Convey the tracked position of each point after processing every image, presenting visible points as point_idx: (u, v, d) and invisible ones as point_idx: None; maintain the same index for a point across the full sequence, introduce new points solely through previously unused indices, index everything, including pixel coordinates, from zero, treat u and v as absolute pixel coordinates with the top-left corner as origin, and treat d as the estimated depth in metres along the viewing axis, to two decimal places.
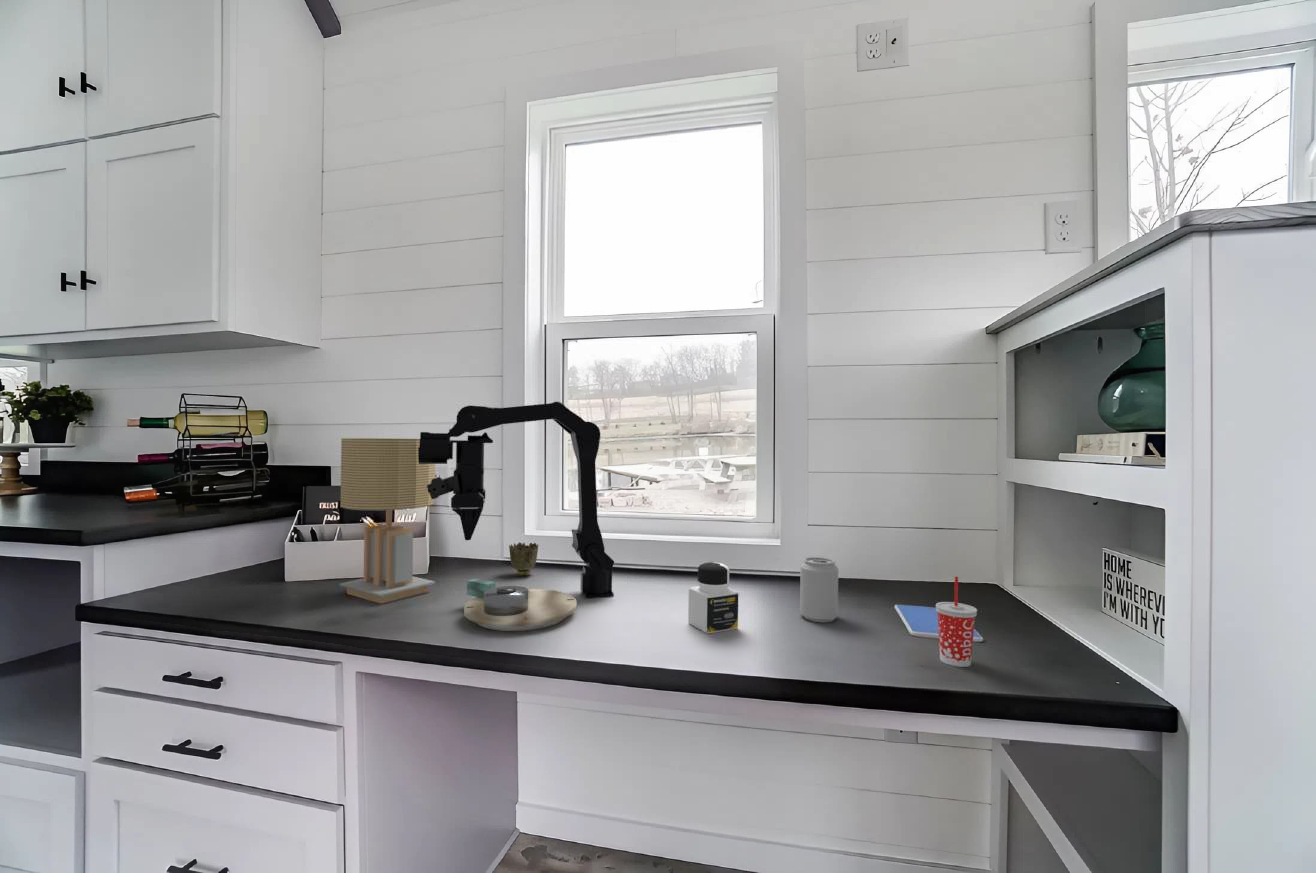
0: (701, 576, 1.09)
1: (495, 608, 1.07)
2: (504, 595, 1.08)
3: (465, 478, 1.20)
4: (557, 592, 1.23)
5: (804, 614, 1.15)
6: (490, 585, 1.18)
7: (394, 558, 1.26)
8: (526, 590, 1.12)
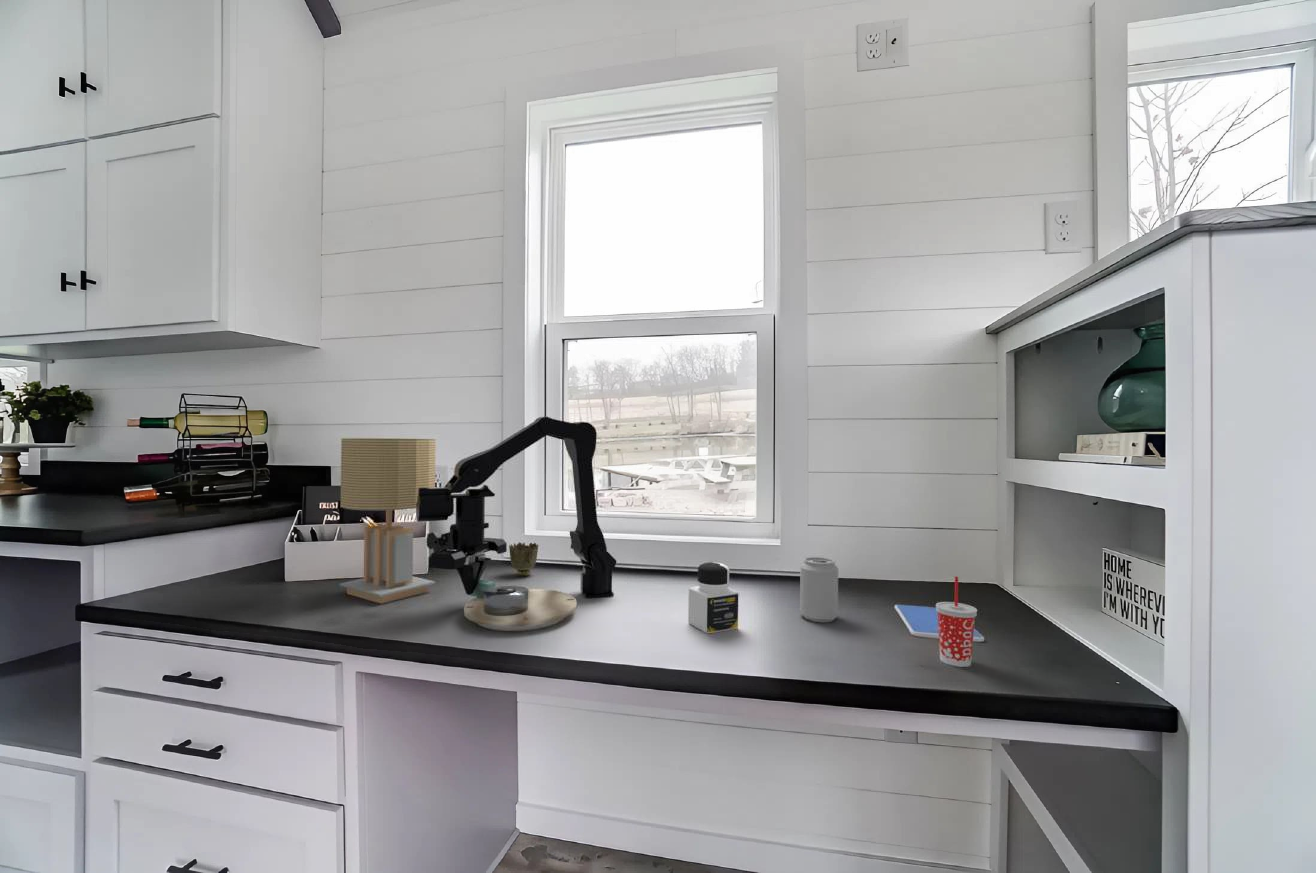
0: (701, 576, 1.09)
1: (495, 608, 1.07)
2: (504, 595, 1.08)
3: (458, 534, 1.16)
4: (557, 592, 1.23)
5: (804, 614, 1.15)
6: (490, 585, 1.18)
7: (394, 558, 1.26)
8: (526, 590, 1.12)
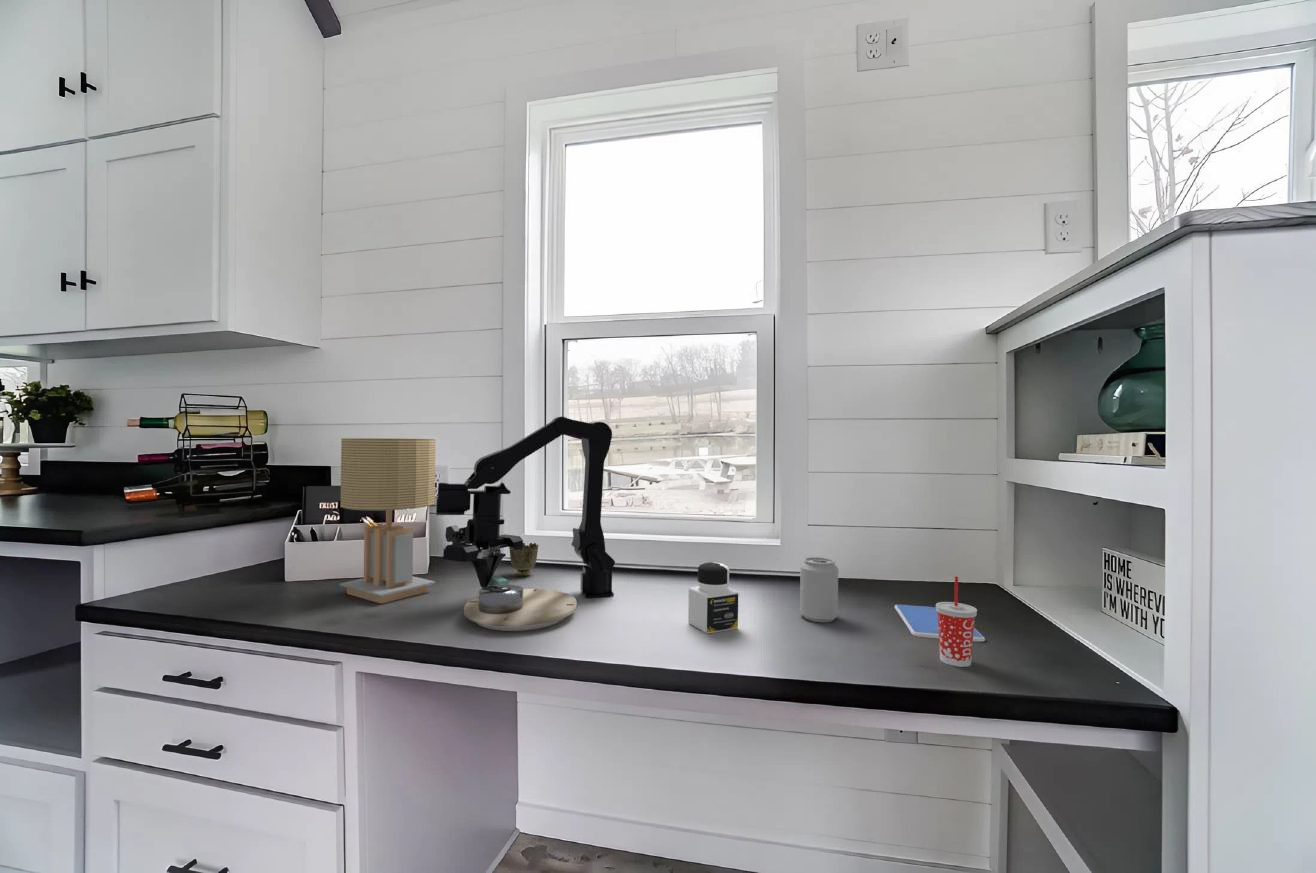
0: (701, 576, 1.09)
1: (483, 605, 1.09)
2: (493, 593, 1.09)
3: (474, 529, 1.20)
4: (567, 596, 1.21)
5: (804, 614, 1.15)
6: (501, 582, 1.21)
7: (394, 558, 1.26)
8: (519, 590, 1.12)
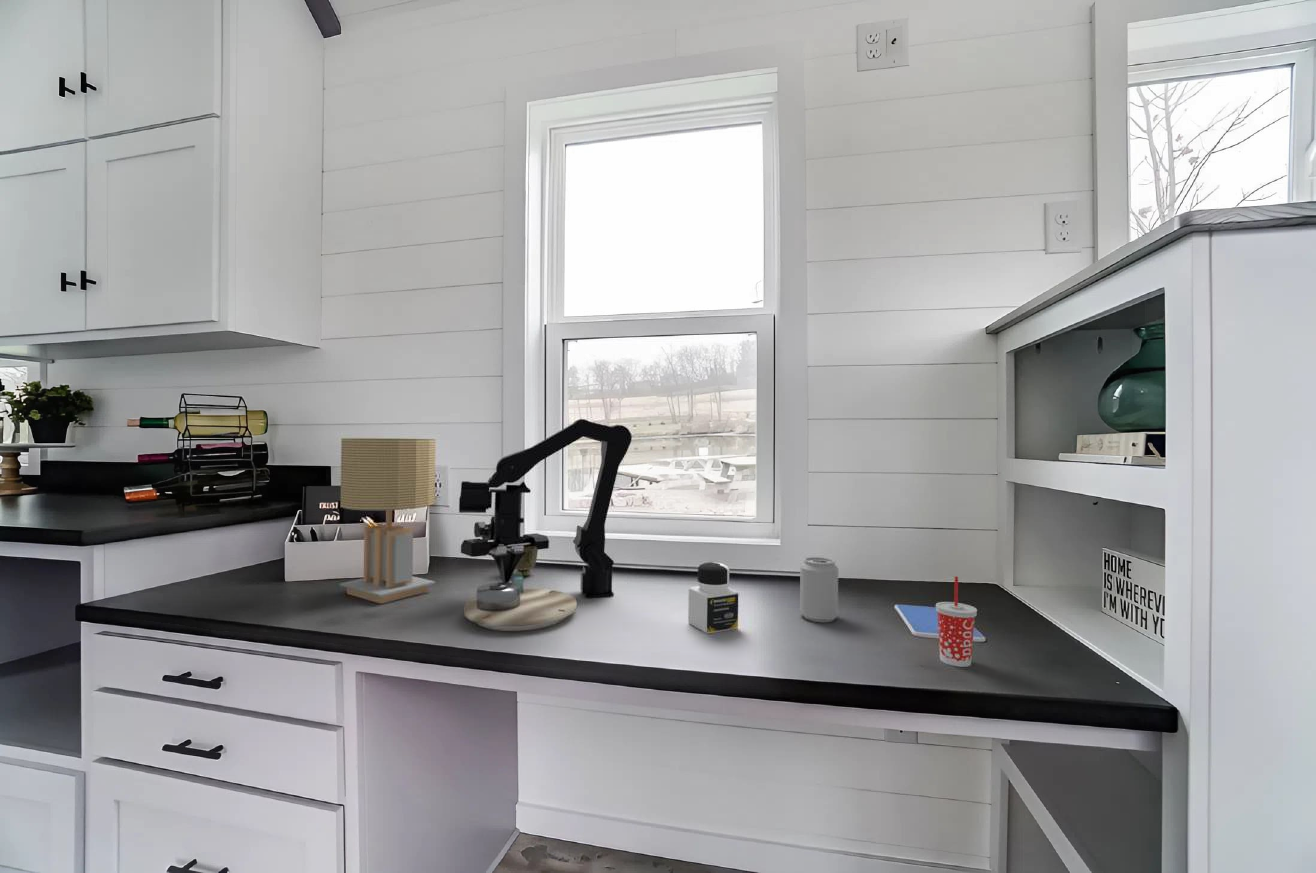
0: (701, 576, 1.09)
1: (477, 601, 1.11)
2: (486, 590, 1.11)
3: (494, 526, 1.25)
4: (572, 601, 1.17)
5: (804, 614, 1.15)
6: (516, 580, 1.23)
7: (394, 558, 1.26)
8: (512, 590, 1.12)
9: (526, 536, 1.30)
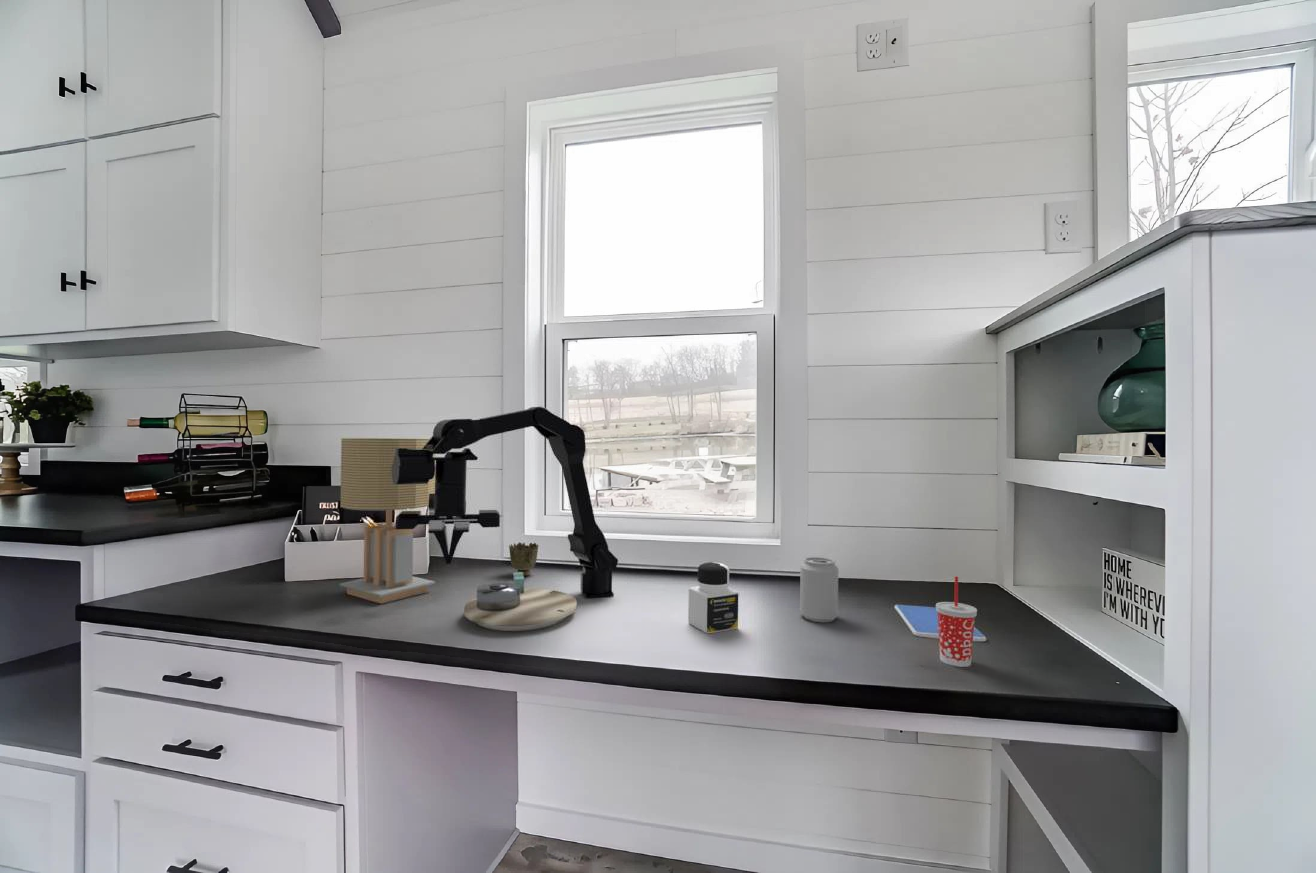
0: (701, 576, 1.09)
1: (477, 600, 1.12)
2: (486, 590, 1.11)
3: None
4: (572, 601, 1.17)
5: (804, 614, 1.15)
6: (517, 580, 1.23)
7: (394, 558, 1.26)
8: (512, 590, 1.12)
9: None
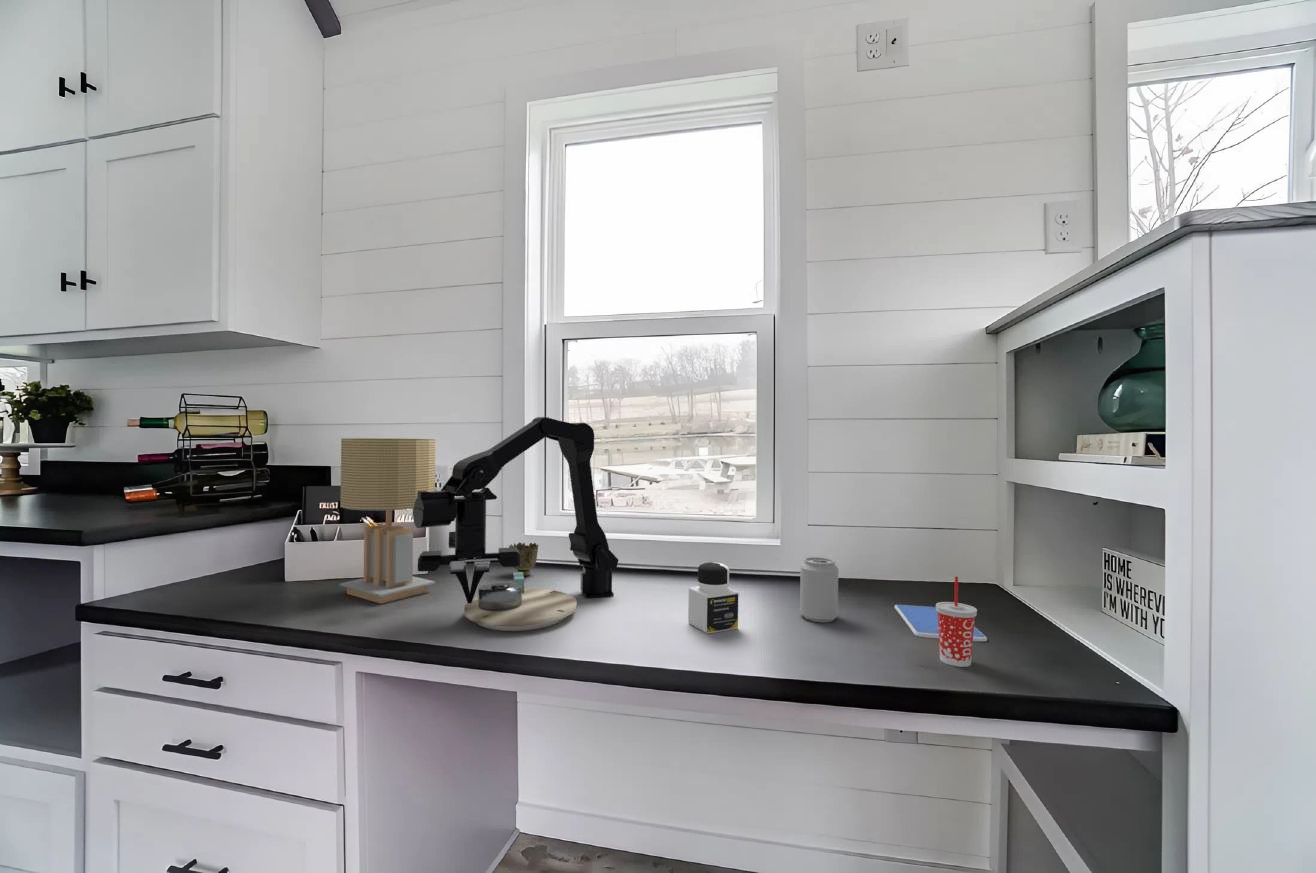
0: (701, 576, 1.09)
1: (479, 600, 1.12)
2: (487, 590, 1.12)
3: None
4: (572, 601, 1.17)
5: (804, 614, 1.15)
6: (517, 580, 1.23)
7: (394, 558, 1.26)
8: (513, 590, 1.12)
9: None
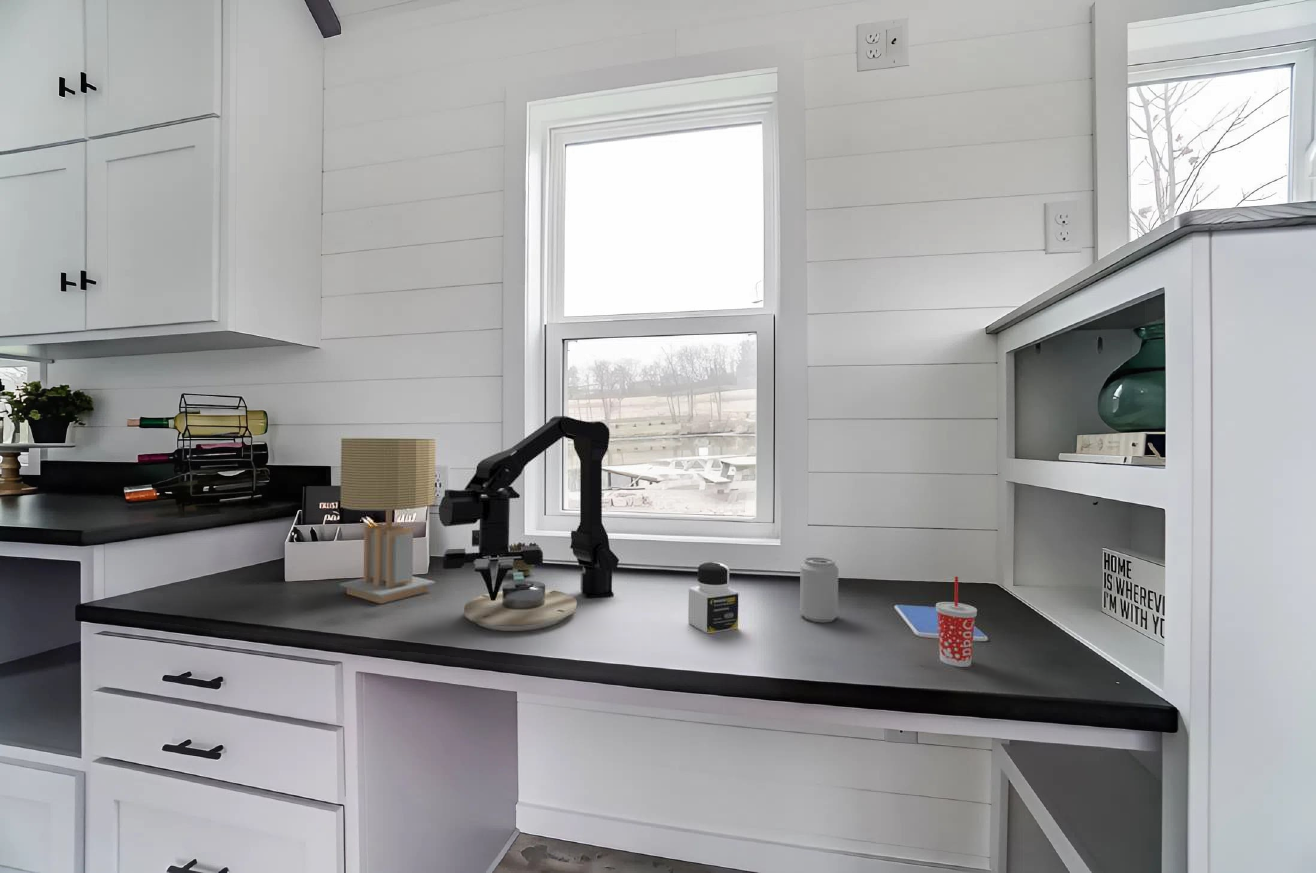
0: (701, 576, 1.09)
1: (503, 599, 1.13)
2: (512, 588, 1.13)
3: None
4: (572, 601, 1.17)
5: (804, 614, 1.15)
6: (517, 580, 1.23)
7: (394, 558, 1.26)
8: (537, 589, 1.13)
9: (521, 548, 1.16)
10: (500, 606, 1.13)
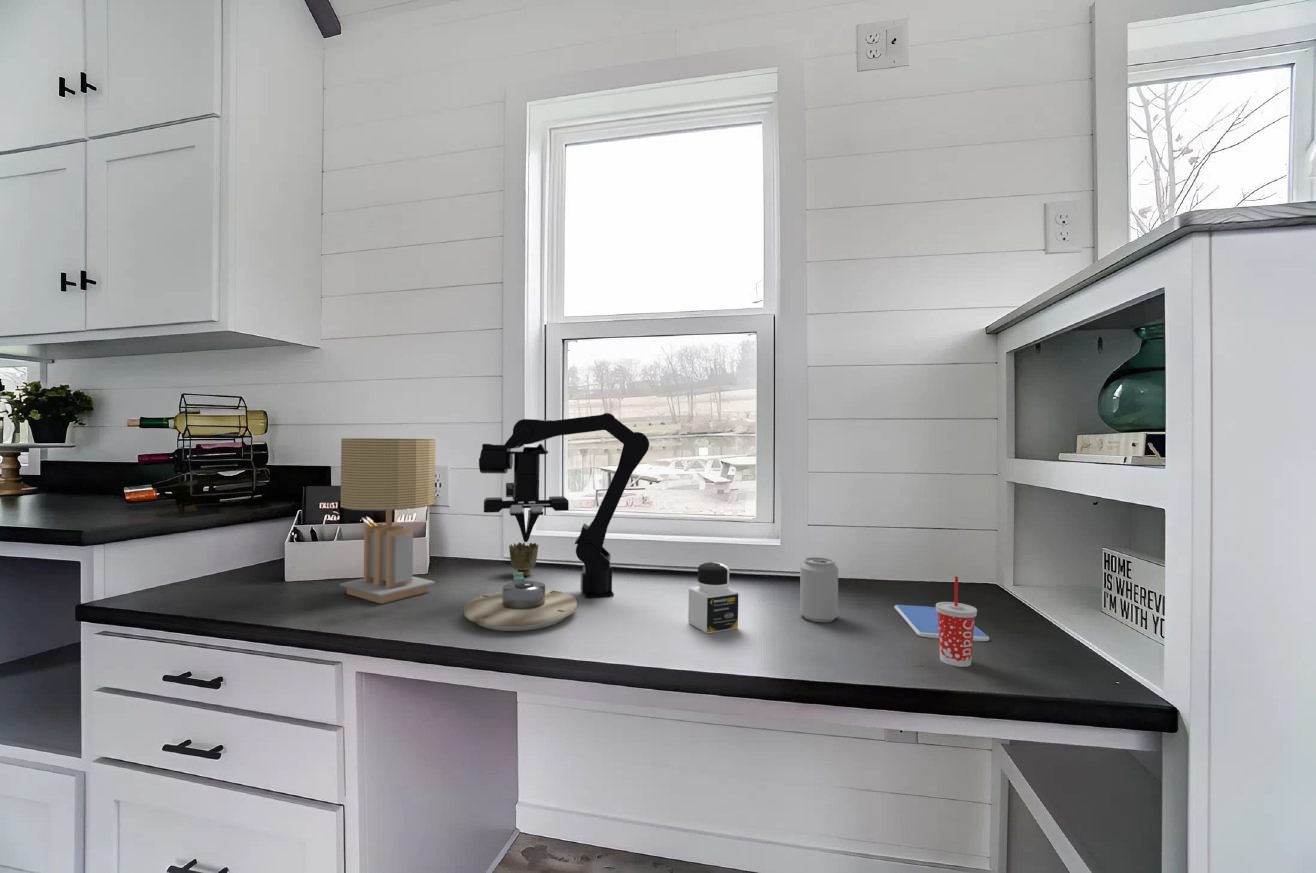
0: (701, 576, 1.09)
1: (503, 599, 1.13)
2: (512, 588, 1.13)
3: None
4: (572, 601, 1.17)
5: (804, 614, 1.15)
6: (517, 580, 1.23)
7: (394, 558, 1.26)
8: (537, 589, 1.13)
9: (549, 498, 1.34)
10: (500, 606, 1.13)
